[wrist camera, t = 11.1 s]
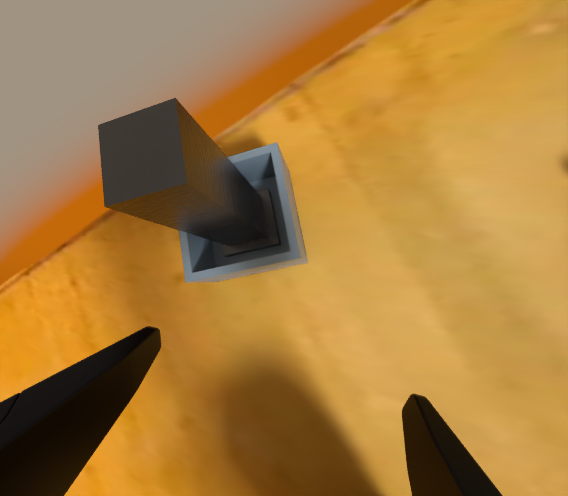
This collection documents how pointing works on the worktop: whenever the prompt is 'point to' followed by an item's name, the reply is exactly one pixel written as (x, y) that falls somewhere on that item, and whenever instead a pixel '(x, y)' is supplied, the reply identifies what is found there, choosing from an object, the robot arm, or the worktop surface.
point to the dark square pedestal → (182, 180)
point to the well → (215, 267)
